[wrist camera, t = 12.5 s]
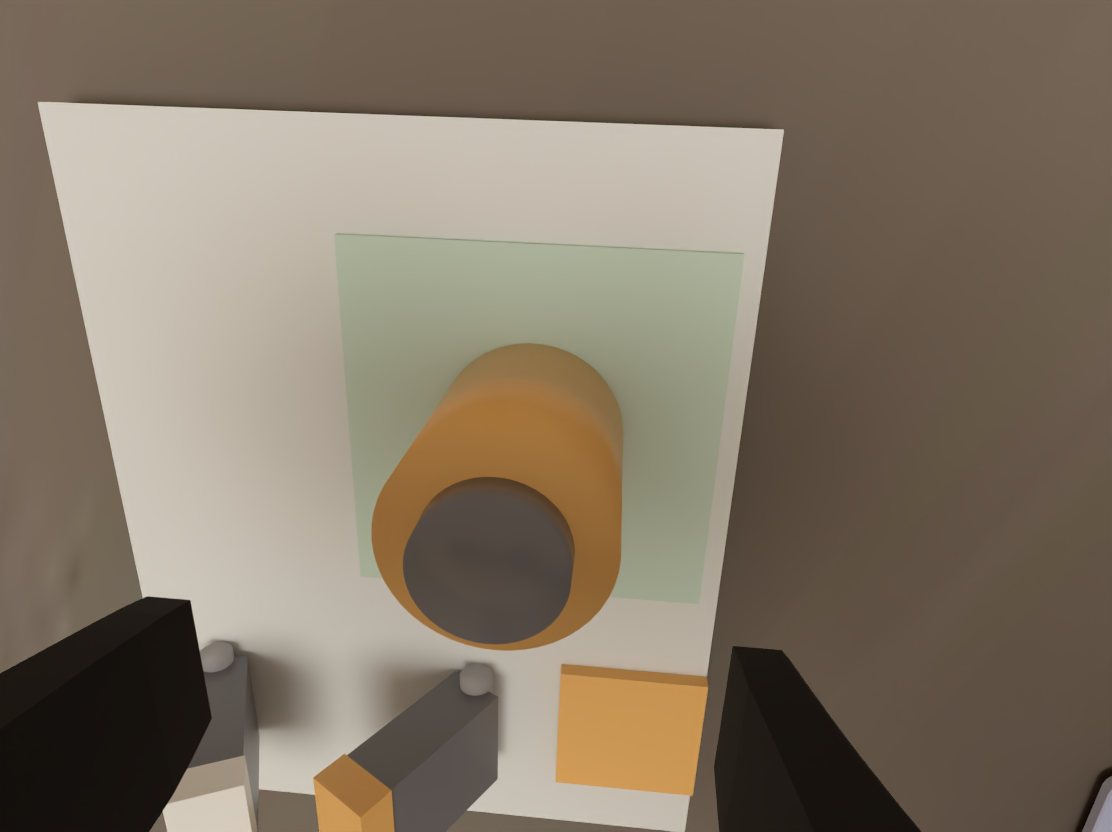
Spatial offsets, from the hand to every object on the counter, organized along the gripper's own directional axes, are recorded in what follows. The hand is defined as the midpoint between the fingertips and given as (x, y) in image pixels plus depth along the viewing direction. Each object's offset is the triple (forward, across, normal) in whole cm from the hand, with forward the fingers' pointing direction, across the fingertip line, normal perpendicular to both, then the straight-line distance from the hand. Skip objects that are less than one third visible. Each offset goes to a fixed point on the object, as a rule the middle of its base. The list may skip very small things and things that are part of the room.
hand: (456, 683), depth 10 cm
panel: (+10, +3, +3) cm, 11 cm away
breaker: (+9, +9, +9) cm, 15 cm away
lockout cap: (+8, 0, 0) cm, 9 cm away
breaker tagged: (+9, +1, +9) cm, 13 cm away
